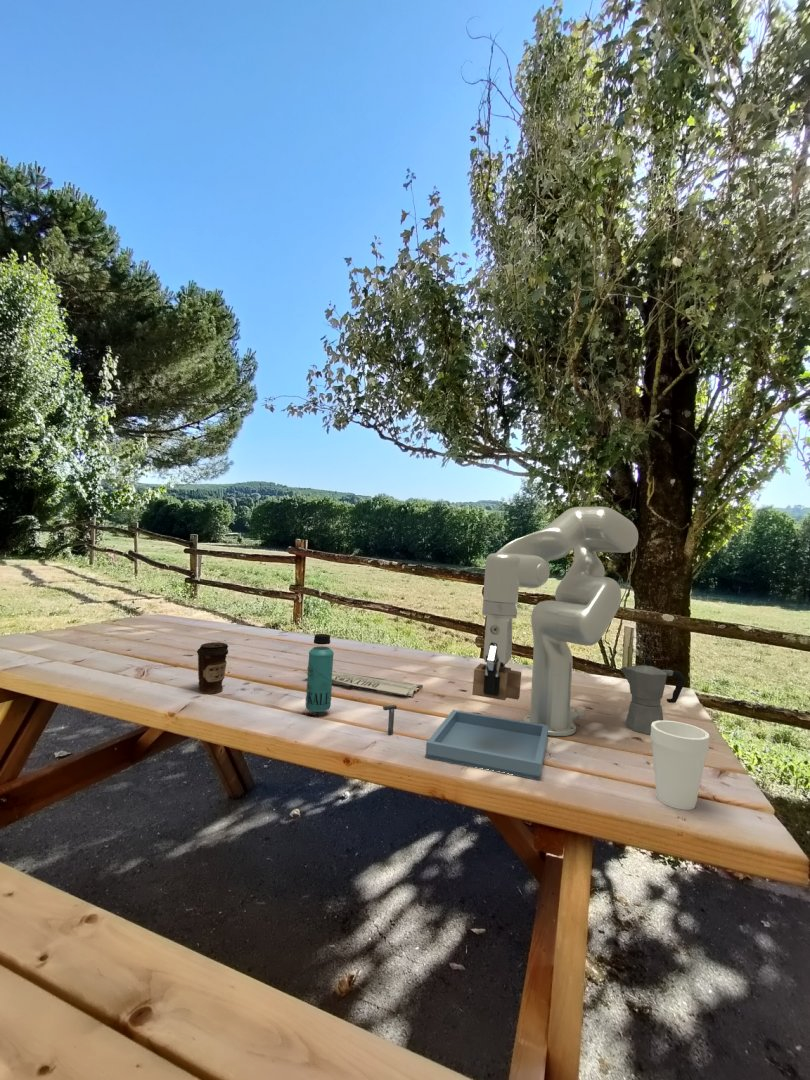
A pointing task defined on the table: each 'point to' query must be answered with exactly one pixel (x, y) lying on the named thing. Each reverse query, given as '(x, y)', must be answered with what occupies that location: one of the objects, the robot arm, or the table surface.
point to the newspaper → (374, 683)
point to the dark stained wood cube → (507, 683)
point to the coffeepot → (648, 694)
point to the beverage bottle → (319, 675)
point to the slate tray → (490, 743)
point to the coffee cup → (211, 666)
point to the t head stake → (390, 717)
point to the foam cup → (678, 762)
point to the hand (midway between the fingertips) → (494, 689)
